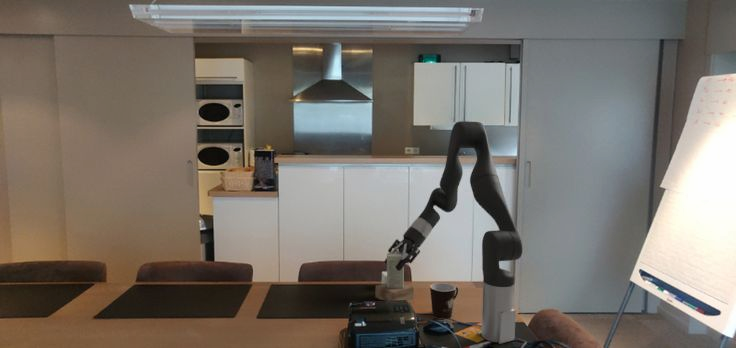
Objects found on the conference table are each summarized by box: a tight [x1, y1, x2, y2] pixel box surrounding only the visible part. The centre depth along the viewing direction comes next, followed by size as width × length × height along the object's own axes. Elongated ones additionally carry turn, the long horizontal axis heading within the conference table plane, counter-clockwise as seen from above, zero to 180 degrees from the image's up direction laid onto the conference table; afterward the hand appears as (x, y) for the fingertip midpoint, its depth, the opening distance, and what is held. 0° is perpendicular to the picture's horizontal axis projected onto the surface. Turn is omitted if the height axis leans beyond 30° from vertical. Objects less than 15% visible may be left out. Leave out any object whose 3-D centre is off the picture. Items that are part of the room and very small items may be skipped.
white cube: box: [381, 270, 387, 284], centre depth 198 cm, size 6×6×6 cm
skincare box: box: [386, 252, 405, 288], centre depth 185 cm, size 6×4×12 cm
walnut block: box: [374, 283, 415, 302], centre depth 186 cm, size 10×10×5 cm
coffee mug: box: [429, 282, 459, 319], centre depth 170 cm, size 12×9×10 cm
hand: (391, 266), depth 184 cm, fingers open, 7 cm apart
